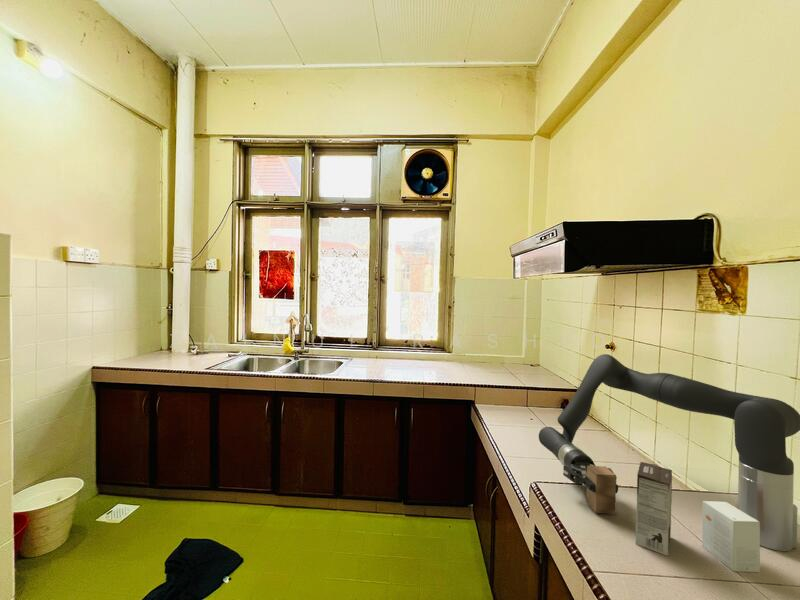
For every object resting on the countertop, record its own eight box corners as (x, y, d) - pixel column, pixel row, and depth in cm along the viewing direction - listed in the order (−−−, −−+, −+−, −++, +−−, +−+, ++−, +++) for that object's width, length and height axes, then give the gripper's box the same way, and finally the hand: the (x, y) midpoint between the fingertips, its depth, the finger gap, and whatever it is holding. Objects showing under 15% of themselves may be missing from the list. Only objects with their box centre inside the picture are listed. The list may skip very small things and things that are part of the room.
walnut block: (604, 503, 98) (605, 466, 98) (615, 513, 93) (616, 475, 93) (586, 502, 98) (587, 465, 98) (595, 512, 93) (596, 474, 93)
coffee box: (638, 525, 89) (640, 460, 89) (671, 537, 85) (672, 469, 85) (634, 544, 82) (636, 473, 82) (669, 557, 78) (671, 483, 78)
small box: (760, 573, 74) (761, 522, 74) (733, 572, 74) (734, 521, 74) (725, 547, 82) (726, 501, 82) (701, 546, 82) (702, 500, 82)
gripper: (552, 447, 110) (578, 473, 93) (599, 449, 110) (633, 476, 93) (551, 472, 110) (577, 502, 93) (598, 474, 110) (633, 505, 93)
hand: (605, 489), depth 93 cm, fingers closed on walnut block, 5 cm apart
